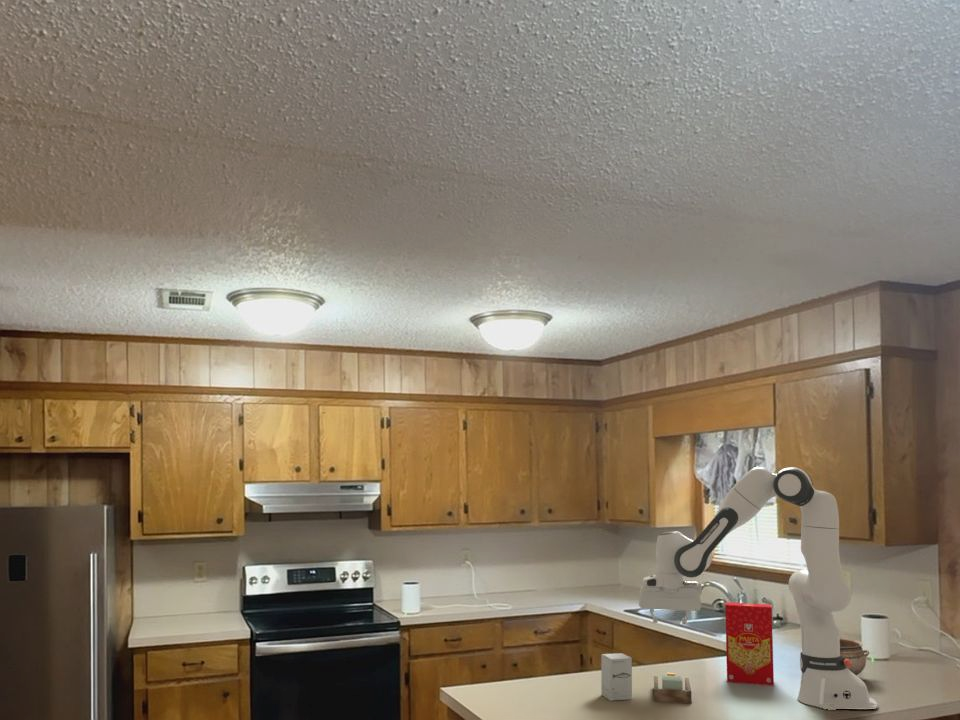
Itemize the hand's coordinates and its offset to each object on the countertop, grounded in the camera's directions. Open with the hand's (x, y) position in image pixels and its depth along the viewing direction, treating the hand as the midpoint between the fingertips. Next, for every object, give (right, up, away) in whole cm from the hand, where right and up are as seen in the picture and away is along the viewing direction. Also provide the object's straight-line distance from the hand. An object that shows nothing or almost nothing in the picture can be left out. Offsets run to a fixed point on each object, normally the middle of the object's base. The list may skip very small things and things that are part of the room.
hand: (669, 623), depth 293 cm
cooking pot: (+57, -21, +6) cm, 61 cm away
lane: (-3, -18, -16) cm, 24 cm away
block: (-2, -18, -13) cm, 23 cm away
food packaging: (+27, -20, +1) cm, 34 cm away
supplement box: (-20, -18, -18) cm, 33 cm away
